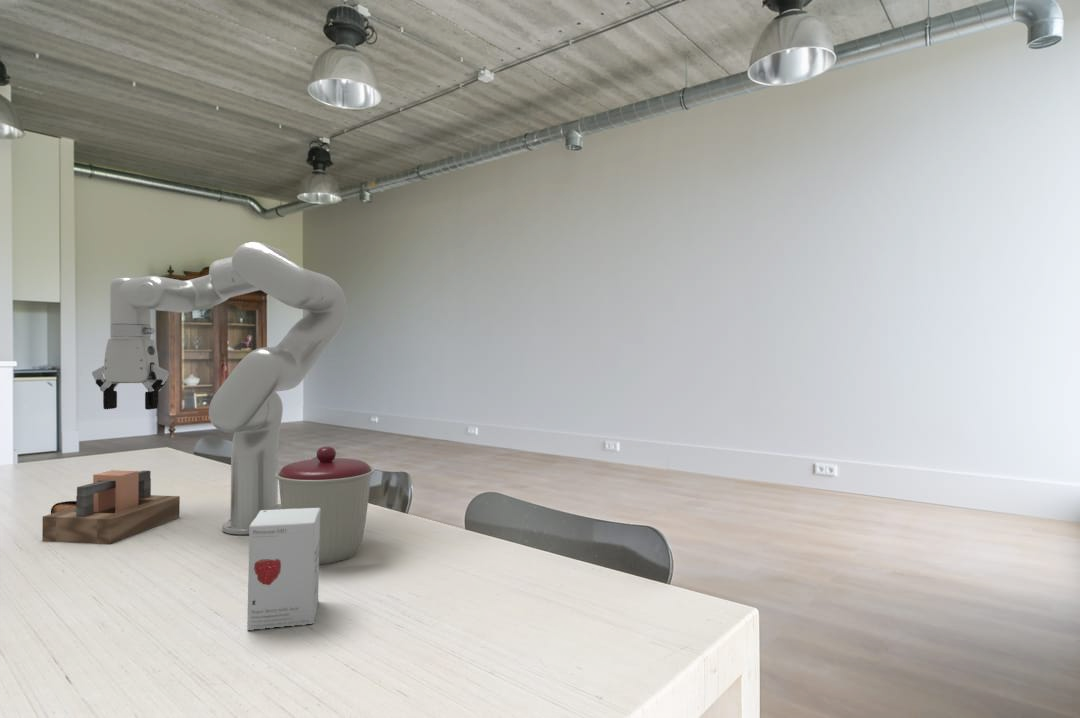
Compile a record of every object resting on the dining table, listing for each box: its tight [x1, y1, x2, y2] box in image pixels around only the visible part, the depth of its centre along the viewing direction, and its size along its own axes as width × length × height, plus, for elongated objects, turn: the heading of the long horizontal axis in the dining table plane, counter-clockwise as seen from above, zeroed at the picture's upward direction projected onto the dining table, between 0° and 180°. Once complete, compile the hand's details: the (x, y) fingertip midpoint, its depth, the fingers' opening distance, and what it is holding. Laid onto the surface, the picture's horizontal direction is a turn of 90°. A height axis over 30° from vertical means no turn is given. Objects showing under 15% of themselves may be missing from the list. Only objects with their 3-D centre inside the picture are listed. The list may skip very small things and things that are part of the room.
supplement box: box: [246, 508, 321, 631], centre depth 89 cm, size 9×9×15 cm
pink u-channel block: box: [92, 469, 140, 513], centre depth 131 cm, size 6×5×8 cm
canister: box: [275, 446, 376, 565], centre depth 115 cm, size 18×18×21 cm
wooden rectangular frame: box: [41, 470, 181, 545], centre depth 131 cm, size 15×20×11 cm
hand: (130, 408), depth 135 cm, fingers open, 9 cm apart
